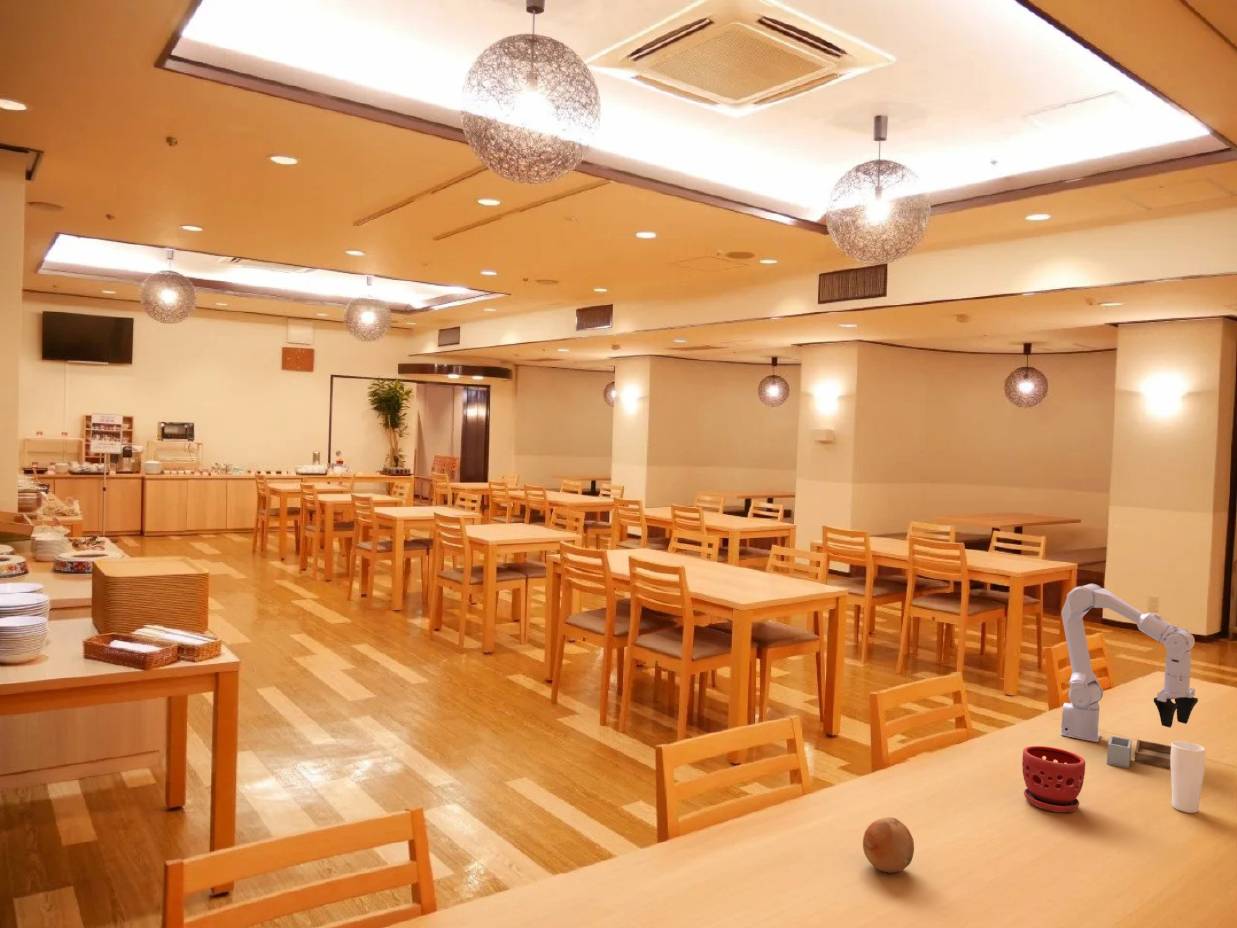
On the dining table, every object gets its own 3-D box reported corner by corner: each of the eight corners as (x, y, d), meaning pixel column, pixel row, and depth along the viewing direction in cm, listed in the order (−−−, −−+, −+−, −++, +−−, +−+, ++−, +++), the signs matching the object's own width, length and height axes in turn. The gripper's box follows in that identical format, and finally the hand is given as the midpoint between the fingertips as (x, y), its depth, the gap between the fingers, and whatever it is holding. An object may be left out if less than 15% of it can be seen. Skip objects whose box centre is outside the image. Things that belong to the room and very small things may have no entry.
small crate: (1106, 764, 228) (1107, 743, 228) (1109, 755, 235) (1110, 735, 234) (1128, 768, 225) (1129, 747, 225) (1130, 759, 232) (1131, 739, 232)
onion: (872, 851, 175) (874, 803, 175) (921, 868, 169) (923, 818, 168) (852, 869, 167) (854, 819, 167) (902, 887, 161) (905, 835, 161)
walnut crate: (1134, 761, 231) (1134, 751, 231) (1137, 748, 241) (1137, 739, 241) (1175, 769, 226) (1175, 760, 226) (1176, 755, 236) (1176, 746, 236)
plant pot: (1091, 819, 194) (1093, 767, 193) (1028, 812, 196) (1031, 760, 196) (1072, 796, 206) (1075, 746, 206) (1014, 789, 209) (1016, 741, 209)
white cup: (1191, 803, 204) (1195, 741, 203) (1208, 816, 197) (1212, 752, 197) (1161, 801, 205) (1165, 739, 204) (1177, 814, 198) (1180, 750, 197)
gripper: (1177, 681, 225) (1174, 732, 225) (1208, 675, 232) (1205, 725, 232) (1150, 674, 231) (1147, 724, 232) (1180, 669, 238) (1177, 717, 239)
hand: (1174, 724), depth 232 cm, fingers open, 7 cm apart
